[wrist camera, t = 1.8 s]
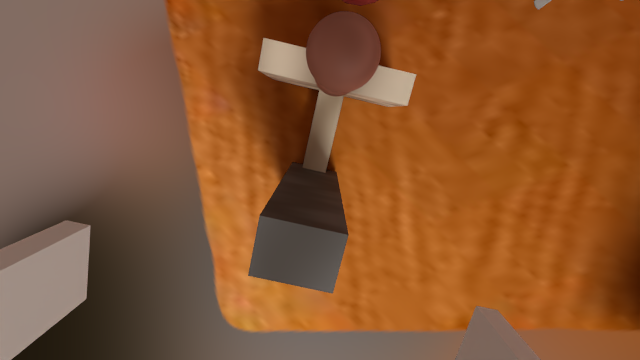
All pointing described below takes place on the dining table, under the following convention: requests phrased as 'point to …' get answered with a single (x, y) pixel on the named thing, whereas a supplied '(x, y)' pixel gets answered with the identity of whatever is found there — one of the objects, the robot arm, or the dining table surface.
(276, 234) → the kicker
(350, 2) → the onion
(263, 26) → the dining table surface
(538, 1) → the key chain
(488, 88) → the dining table surface
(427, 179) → the dining table surface
